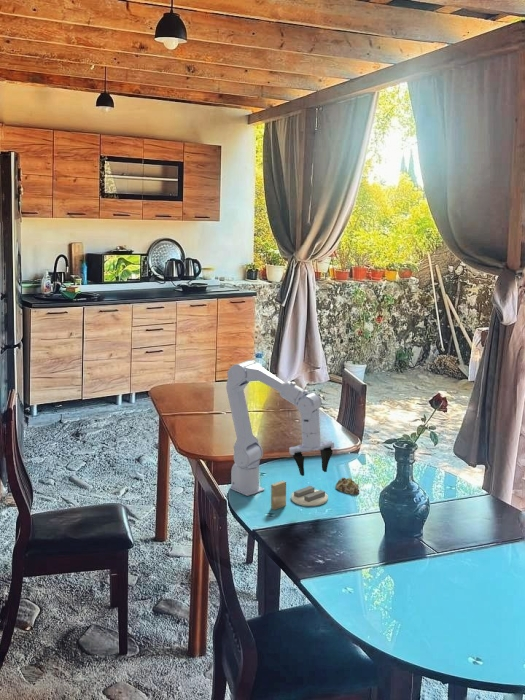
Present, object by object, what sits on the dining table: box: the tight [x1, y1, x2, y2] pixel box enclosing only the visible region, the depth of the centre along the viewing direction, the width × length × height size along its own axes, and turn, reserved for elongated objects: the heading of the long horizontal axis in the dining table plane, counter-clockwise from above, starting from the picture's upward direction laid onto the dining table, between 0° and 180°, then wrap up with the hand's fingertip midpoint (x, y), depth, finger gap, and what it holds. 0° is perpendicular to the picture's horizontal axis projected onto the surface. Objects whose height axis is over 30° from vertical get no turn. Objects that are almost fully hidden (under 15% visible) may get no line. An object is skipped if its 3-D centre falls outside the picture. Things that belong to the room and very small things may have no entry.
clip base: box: [290, 485, 329, 507], centre depth 239 cm, size 12×12×2 cm
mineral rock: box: [335, 477, 360, 496], centre depth 247 cm, size 11×4×8 cm
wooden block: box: [270, 480, 287, 511], centre depth 232 cm, size 2×5×8 cm, turn 132°
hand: (313, 473), depth 232 cm, fingers open, 7 cm apart
